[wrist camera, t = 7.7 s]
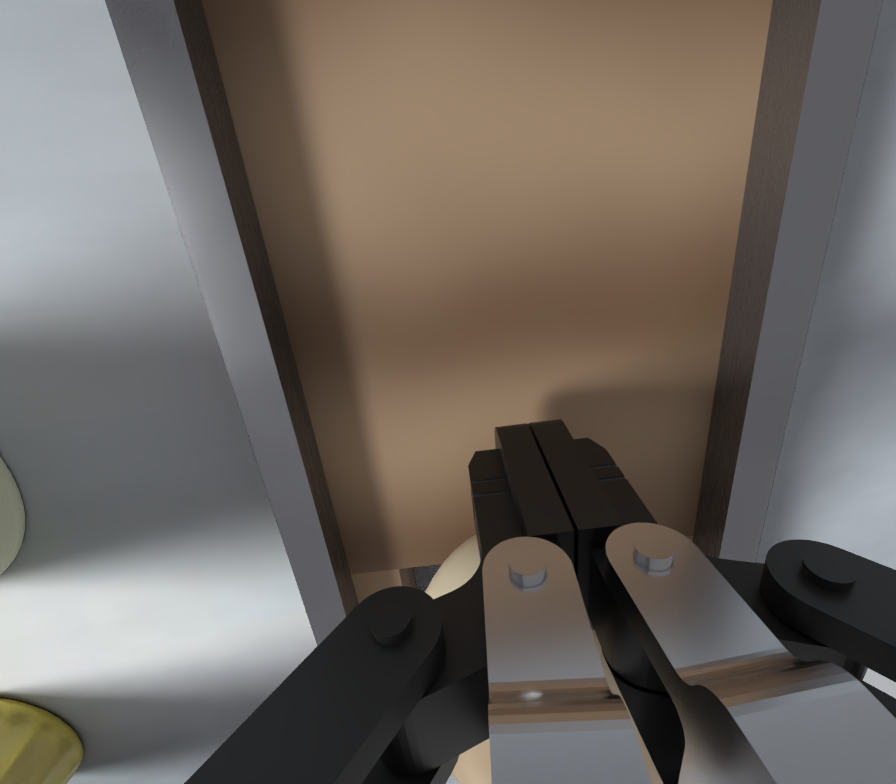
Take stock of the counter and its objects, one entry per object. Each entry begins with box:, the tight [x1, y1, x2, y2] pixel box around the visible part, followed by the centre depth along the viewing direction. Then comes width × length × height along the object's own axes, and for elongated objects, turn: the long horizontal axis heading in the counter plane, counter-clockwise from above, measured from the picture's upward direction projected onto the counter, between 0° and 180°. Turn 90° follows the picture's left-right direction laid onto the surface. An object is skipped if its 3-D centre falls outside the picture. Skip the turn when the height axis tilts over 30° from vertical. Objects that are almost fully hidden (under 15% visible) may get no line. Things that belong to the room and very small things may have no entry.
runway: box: [105, 0, 883, 646], centre depth 13 cm, size 26×12×4 cm, turn 6°
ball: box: [425, 534, 601, 784], centre depth 10 cm, size 6×6×6 cm
